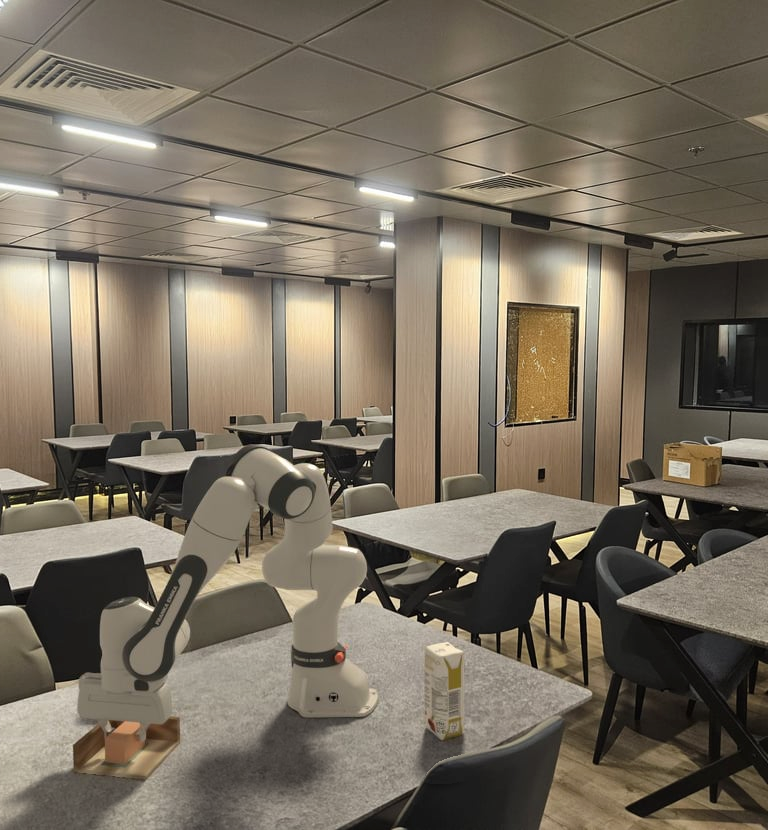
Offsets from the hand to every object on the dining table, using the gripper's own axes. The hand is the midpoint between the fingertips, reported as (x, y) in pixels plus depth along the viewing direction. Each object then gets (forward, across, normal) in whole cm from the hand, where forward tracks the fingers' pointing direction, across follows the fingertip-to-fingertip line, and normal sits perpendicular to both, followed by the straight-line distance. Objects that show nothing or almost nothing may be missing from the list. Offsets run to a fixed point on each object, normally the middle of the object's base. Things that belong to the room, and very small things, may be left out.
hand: (125, 739), depth 153 cm
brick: (+3, 0, 0) cm, 3 cm away
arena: (+4, 0, 0) cm, 4 cm away
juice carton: (+4, +66, +23) cm, 70 cm away
